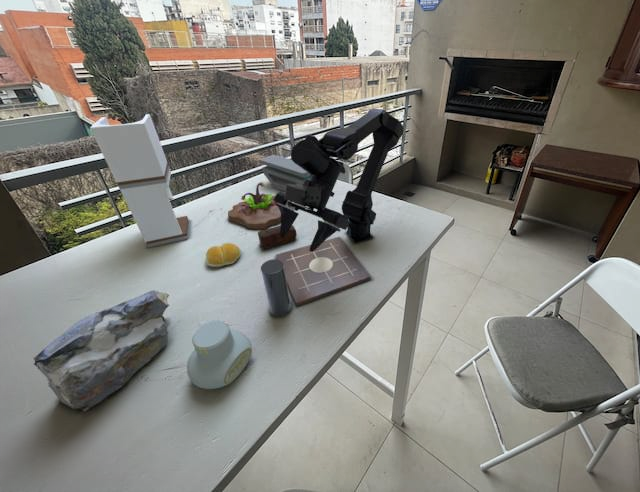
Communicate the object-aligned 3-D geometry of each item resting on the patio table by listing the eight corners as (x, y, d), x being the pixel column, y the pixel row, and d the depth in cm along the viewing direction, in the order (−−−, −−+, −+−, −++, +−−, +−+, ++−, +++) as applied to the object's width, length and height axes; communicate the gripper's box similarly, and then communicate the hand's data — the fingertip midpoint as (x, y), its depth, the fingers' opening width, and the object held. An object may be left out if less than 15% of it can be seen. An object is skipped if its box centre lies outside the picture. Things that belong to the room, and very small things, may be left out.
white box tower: (188, 238, 88) (144, 123, 70) (148, 247, 84) (89, 127, 66) (188, 220, 97) (149, 114, 78) (152, 228, 93) (101, 117, 74)
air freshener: (219, 403, 49) (202, 371, 43) (184, 384, 51) (164, 351, 46) (261, 350, 57) (251, 317, 52) (229, 335, 60) (217, 303, 54)
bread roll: (243, 262, 80) (240, 250, 77) (208, 271, 76) (204, 260, 74) (239, 245, 86) (236, 235, 84) (206, 254, 82) (202, 243, 80)
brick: (263, 250, 84) (261, 237, 81) (259, 243, 87) (257, 231, 84) (297, 239, 89) (295, 227, 86) (292, 233, 92) (291, 221, 89)
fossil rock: (167, 329, 65) (159, 275, 59) (194, 348, 62) (189, 293, 56) (44, 402, 48) (16, 336, 42) (74, 435, 44) (48, 368, 39)
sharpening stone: (263, 183, 123) (258, 159, 117) (276, 177, 128) (273, 154, 123) (306, 199, 111) (303, 173, 106) (319, 192, 117) (317, 167, 111)
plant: (301, 208, 105) (298, 181, 99) (261, 234, 91) (254, 204, 85) (263, 195, 114) (258, 169, 108) (221, 217, 99) (212, 188, 93)
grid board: (339, 239, 89) (339, 236, 89) (370, 279, 74) (370, 276, 74) (276, 257, 81) (275, 254, 81) (296, 306, 67) (296, 302, 66)
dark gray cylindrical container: (287, 298, 69) (280, 256, 62) (293, 312, 65) (286, 269, 58) (268, 305, 67) (258, 263, 60) (273, 319, 63) (263, 276, 56)
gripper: (271, 159, 63) (242, 223, 62) (338, 178, 55) (306, 253, 54) (300, 178, 73) (276, 234, 72) (360, 197, 65) (334, 260, 63)
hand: (295, 244), depth 65 cm, fingers open, 9 cm apart
